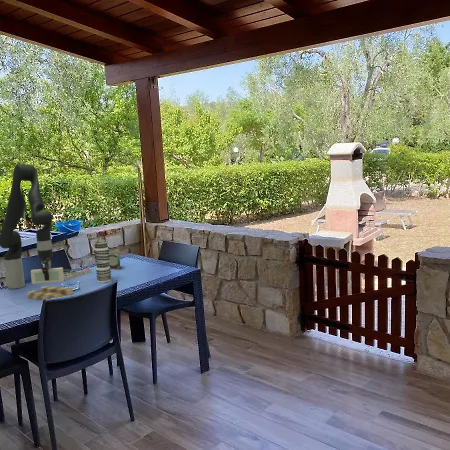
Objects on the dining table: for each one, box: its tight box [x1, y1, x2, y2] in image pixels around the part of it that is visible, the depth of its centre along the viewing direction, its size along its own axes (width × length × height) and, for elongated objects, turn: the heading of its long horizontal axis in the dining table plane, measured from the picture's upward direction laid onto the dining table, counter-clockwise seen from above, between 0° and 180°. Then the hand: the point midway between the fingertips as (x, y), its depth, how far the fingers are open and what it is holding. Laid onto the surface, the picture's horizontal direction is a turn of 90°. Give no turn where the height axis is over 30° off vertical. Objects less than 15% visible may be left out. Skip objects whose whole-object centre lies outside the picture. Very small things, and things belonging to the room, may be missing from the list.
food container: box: [108, 252, 122, 271], centre depth 302 cm, size 12×6×10 cm, turn 58°
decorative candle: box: [93, 238, 112, 283], centre depth 271 cm, size 9×9×25 cm
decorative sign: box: [63, 268, 92, 282], centre depth 290 cm, size 22×2×20 cm
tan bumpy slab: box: [27, 285, 74, 301], centre depth 248 cm, size 20×13×3 cm, turn 66°
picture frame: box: [30, 267, 65, 285], centre depth 246 cm, size 16×4×7 cm, turn 100°
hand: (47, 279), depth 246 cm, fingers closed on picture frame, 3 cm apart
